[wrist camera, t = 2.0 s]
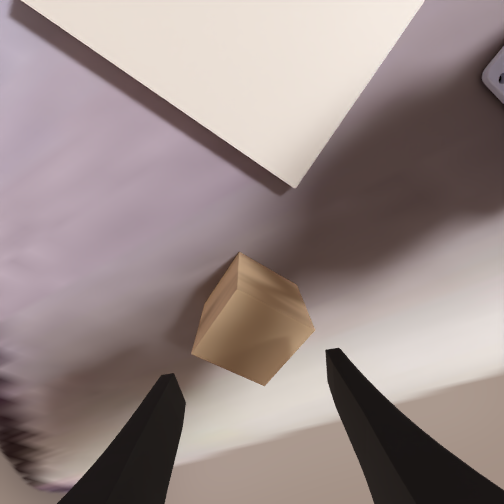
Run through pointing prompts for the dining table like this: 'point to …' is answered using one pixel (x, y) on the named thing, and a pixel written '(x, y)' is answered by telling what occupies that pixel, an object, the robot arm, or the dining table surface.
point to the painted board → (246, 63)
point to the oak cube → (252, 321)
